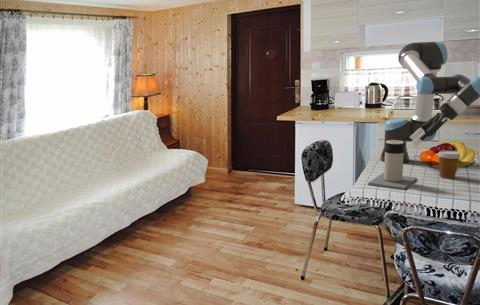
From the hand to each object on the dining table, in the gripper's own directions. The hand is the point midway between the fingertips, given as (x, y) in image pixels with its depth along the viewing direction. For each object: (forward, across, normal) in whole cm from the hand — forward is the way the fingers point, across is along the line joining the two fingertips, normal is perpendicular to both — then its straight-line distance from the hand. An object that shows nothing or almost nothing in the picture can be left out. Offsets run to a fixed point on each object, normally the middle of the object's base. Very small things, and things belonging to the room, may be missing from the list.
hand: (412, 141), depth 187 cm
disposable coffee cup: (+2, +15, -26) cm, 30 cm away
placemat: (+19, 0, -8) cm, 21 cm away
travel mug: (+18, +1, -8) cm, 20 cm away
